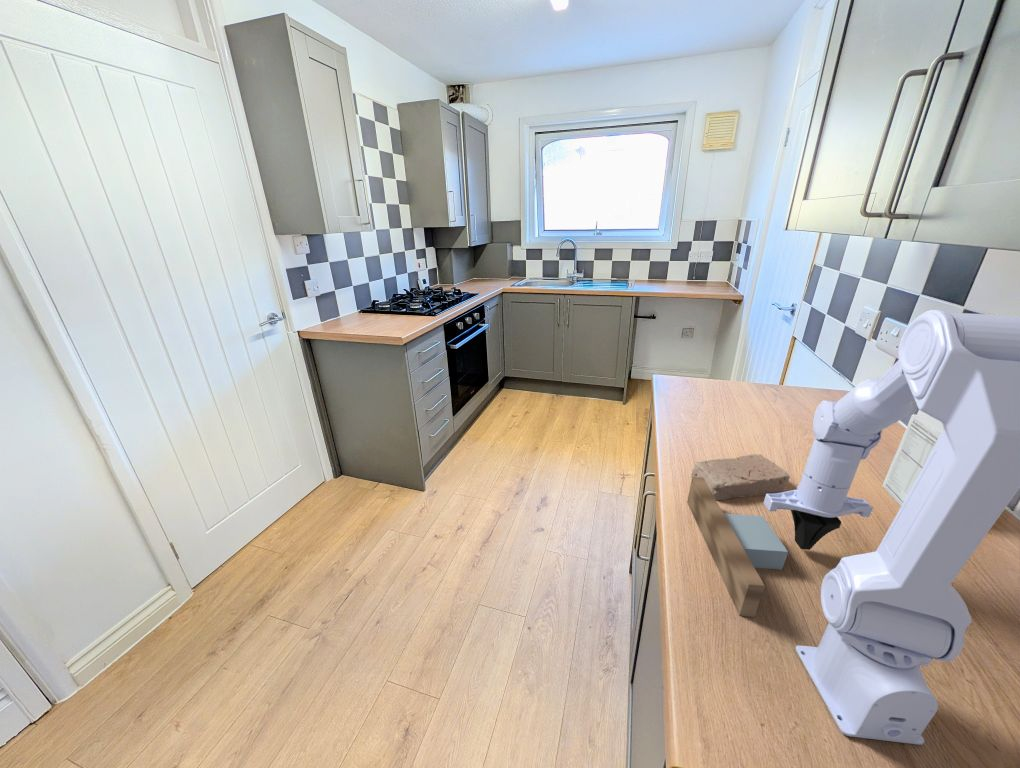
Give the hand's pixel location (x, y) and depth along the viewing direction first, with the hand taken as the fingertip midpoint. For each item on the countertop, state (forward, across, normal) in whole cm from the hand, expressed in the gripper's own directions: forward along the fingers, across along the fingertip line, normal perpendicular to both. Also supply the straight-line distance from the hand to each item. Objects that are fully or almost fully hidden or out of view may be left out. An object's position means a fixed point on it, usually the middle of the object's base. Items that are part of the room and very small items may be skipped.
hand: (802, 545), depth 64 cm
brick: (+2, +3, -18) cm, 18 cm away
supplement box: (+2, -30, -15) cm, 34 cm away
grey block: (+2, +9, 0) cm, 9 cm away
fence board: (+1, +14, +1) cm, 14 cm away
